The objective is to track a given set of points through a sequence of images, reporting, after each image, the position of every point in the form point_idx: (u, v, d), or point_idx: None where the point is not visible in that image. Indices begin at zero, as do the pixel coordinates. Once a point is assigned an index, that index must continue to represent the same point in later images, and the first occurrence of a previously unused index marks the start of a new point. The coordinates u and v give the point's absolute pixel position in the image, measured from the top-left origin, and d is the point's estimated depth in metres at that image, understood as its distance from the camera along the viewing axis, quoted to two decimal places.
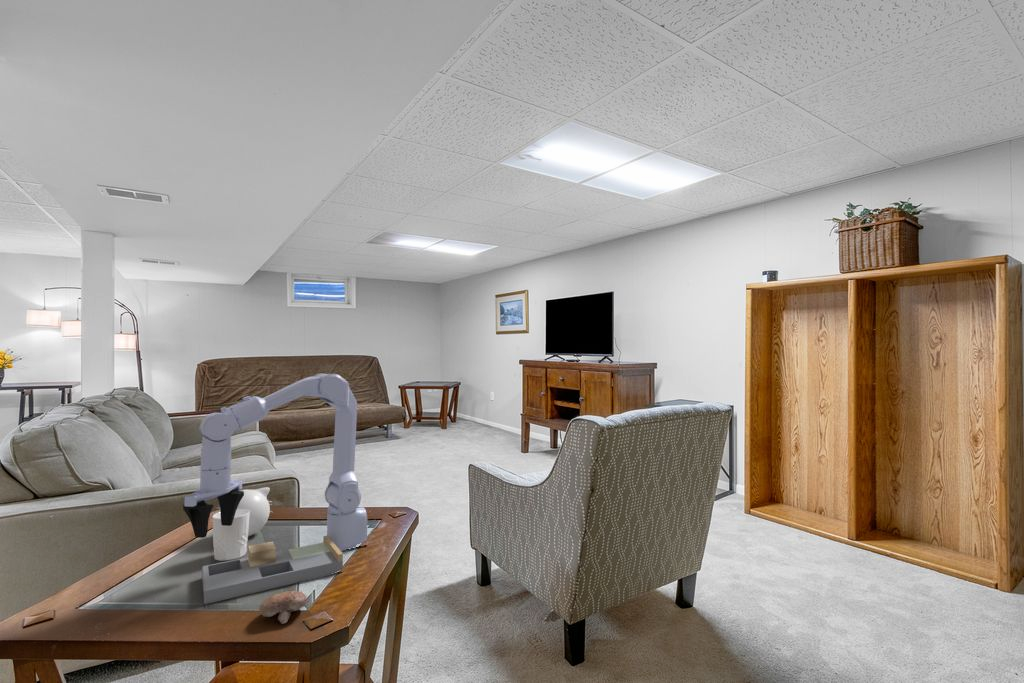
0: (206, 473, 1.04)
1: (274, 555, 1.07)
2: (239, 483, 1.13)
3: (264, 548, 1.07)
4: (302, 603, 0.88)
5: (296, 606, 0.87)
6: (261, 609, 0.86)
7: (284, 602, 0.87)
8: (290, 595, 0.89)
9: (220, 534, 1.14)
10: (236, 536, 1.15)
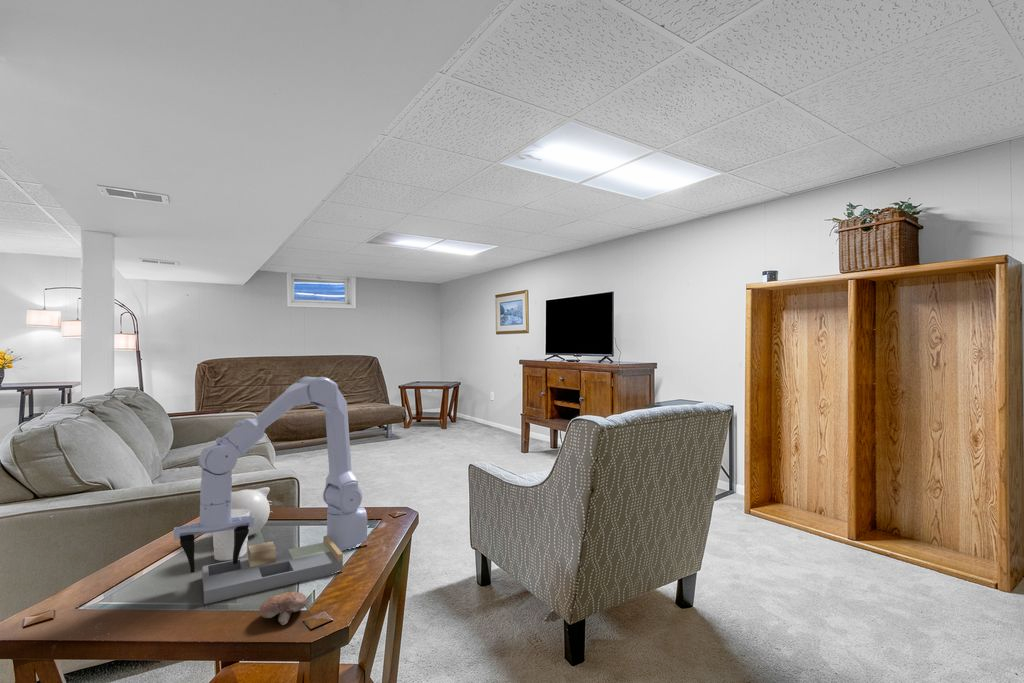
0: (200, 506, 1.02)
1: (274, 555, 1.07)
2: (248, 520, 1.06)
3: (264, 548, 1.07)
4: (302, 604, 0.88)
5: (296, 607, 0.87)
6: (261, 610, 0.86)
7: (284, 603, 0.87)
8: (290, 596, 0.88)
9: (220, 534, 1.14)
10: None
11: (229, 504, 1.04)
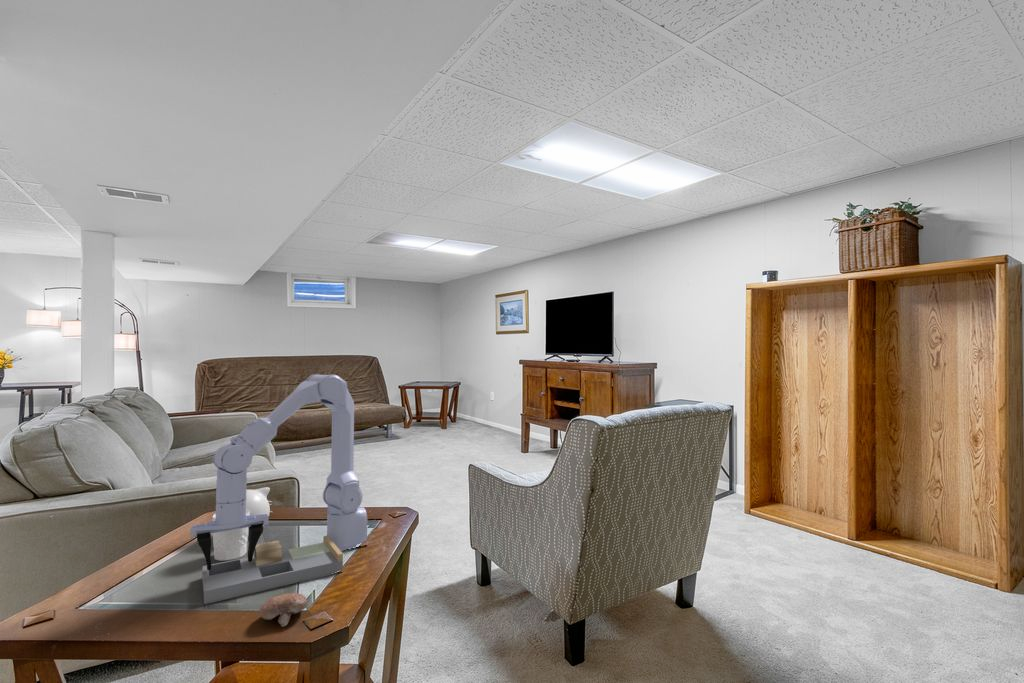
0: None
1: (280, 554, 1.08)
2: (263, 518, 1.08)
3: (270, 547, 1.08)
4: (302, 605, 0.88)
5: (296, 608, 0.87)
6: (261, 612, 0.86)
7: (284, 605, 0.86)
8: (290, 597, 0.88)
9: (220, 534, 1.14)
10: (236, 536, 1.15)
11: (244, 502, 1.05)
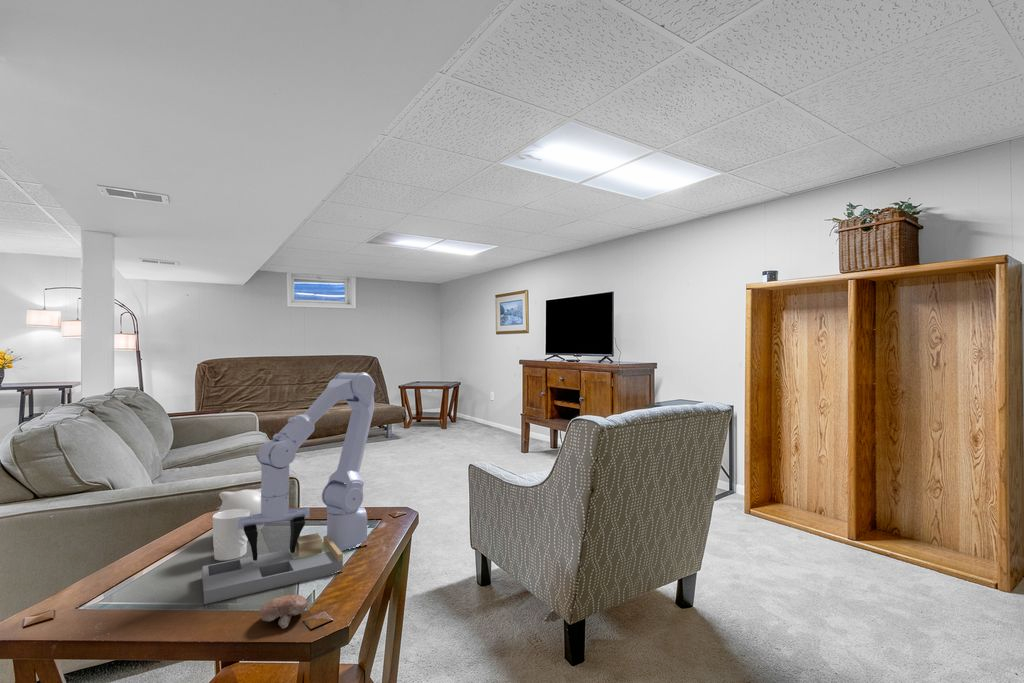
0: (261, 498, 1.08)
1: (320, 546, 1.13)
2: (304, 512, 1.12)
3: (311, 539, 1.13)
4: (303, 607, 0.87)
5: (297, 610, 0.86)
6: (261, 613, 0.85)
7: (284, 606, 0.86)
8: (290, 599, 0.87)
9: (220, 534, 1.14)
10: (236, 536, 1.15)
11: (287, 496, 1.10)
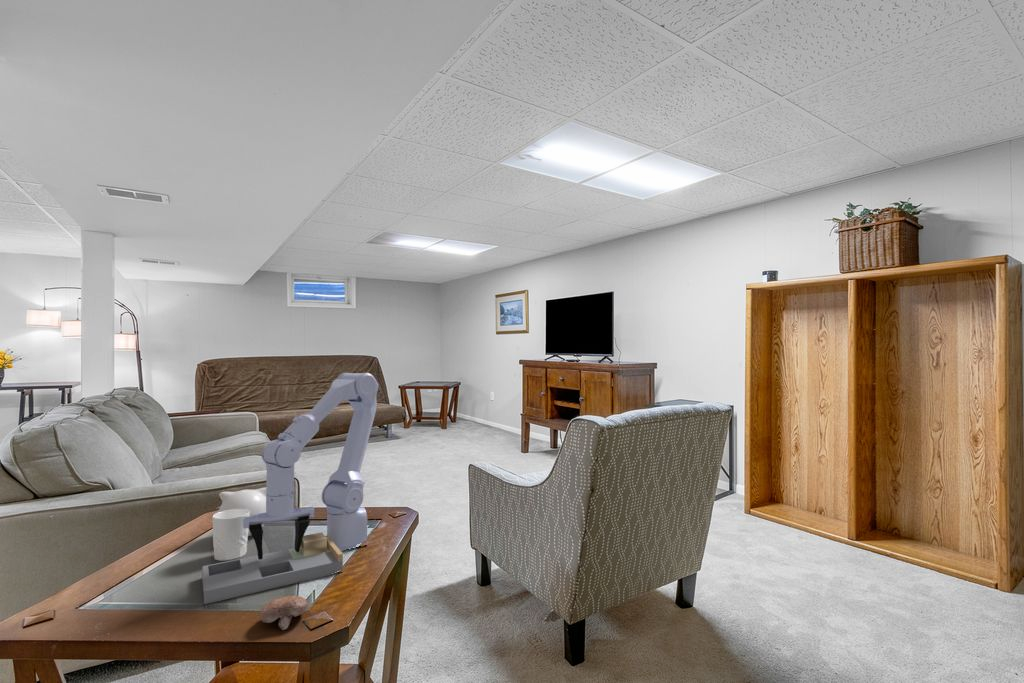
0: (266, 498, 1.09)
1: (325, 545, 1.13)
2: (309, 511, 1.13)
3: (316, 538, 1.13)
4: (303, 608, 0.86)
5: (297, 612, 0.86)
6: (261, 615, 0.84)
7: (284, 608, 0.85)
8: (291, 600, 0.87)
9: (220, 534, 1.14)
10: (236, 536, 1.15)
11: (292, 495, 1.11)
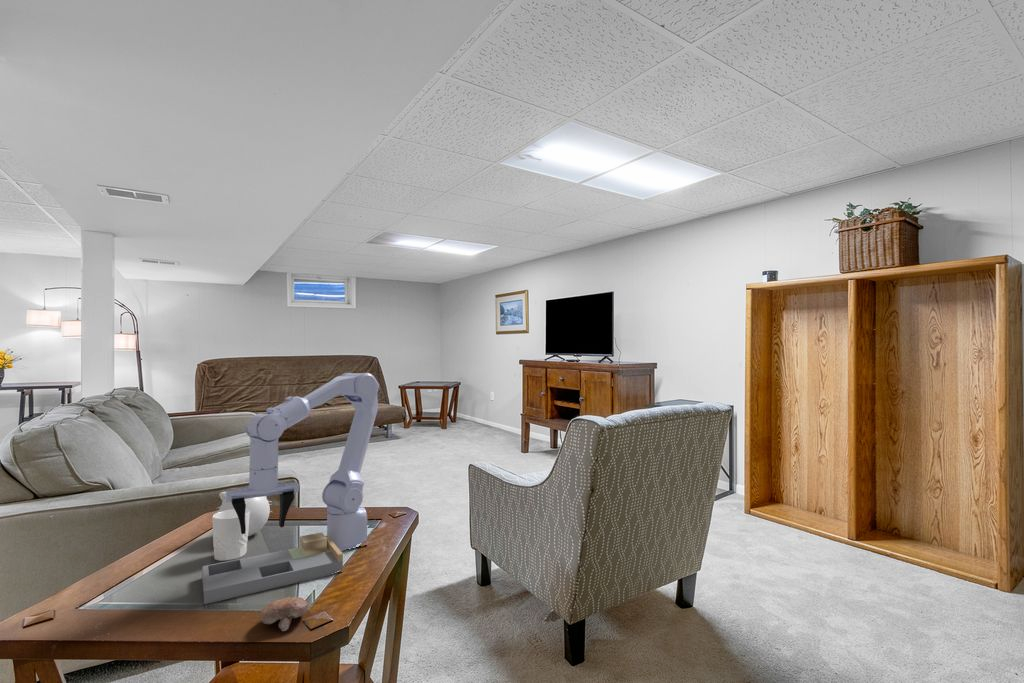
0: (249, 472, 1.07)
1: (325, 545, 1.13)
2: (294, 486, 1.11)
3: (316, 538, 1.13)
4: (303, 610, 0.86)
5: (297, 613, 0.85)
6: (261, 616, 0.84)
7: (284, 609, 0.85)
8: (291, 601, 0.86)
9: (220, 534, 1.14)
10: (236, 536, 1.15)
11: (276, 470, 1.09)
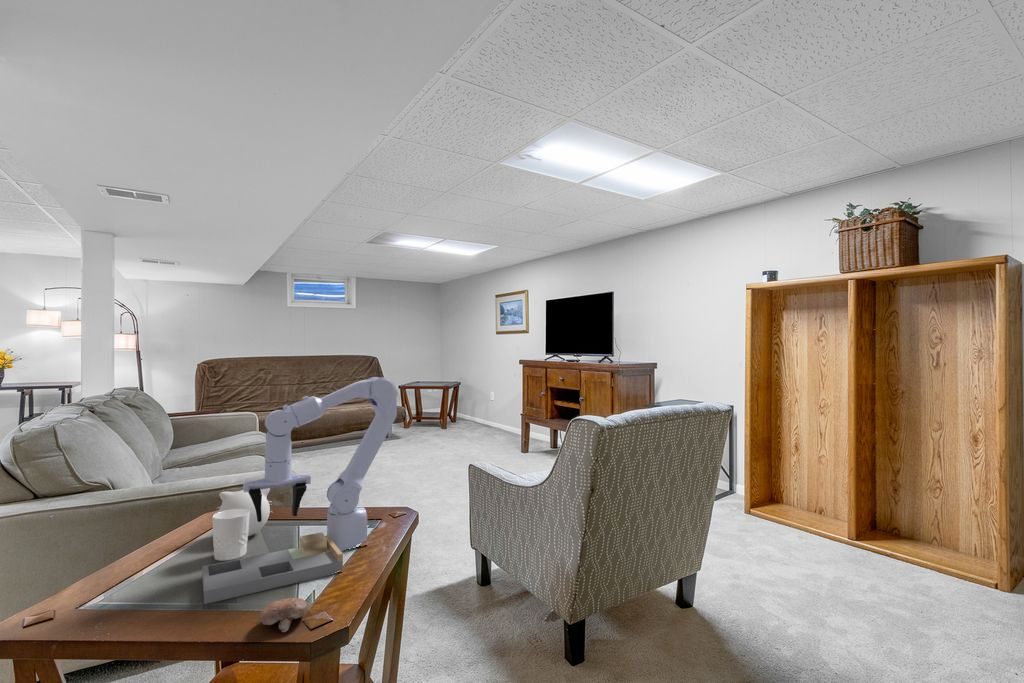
0: (265, 464, 1.15)
1: (325, 545, 1.13)
2: (306, 478, 1.19)
3: (316, 538, 1.13)
4: (303, 611, 0.86)
5: (297, 614, 0.85)
6: (261, 617, 0.84)
7: (284, 610, 0.84)
8: (291, 602, 0.86)
9: (220, 534, 1.14)
10: (236, 536, 1.15)
11: (290, 463, 1.17)
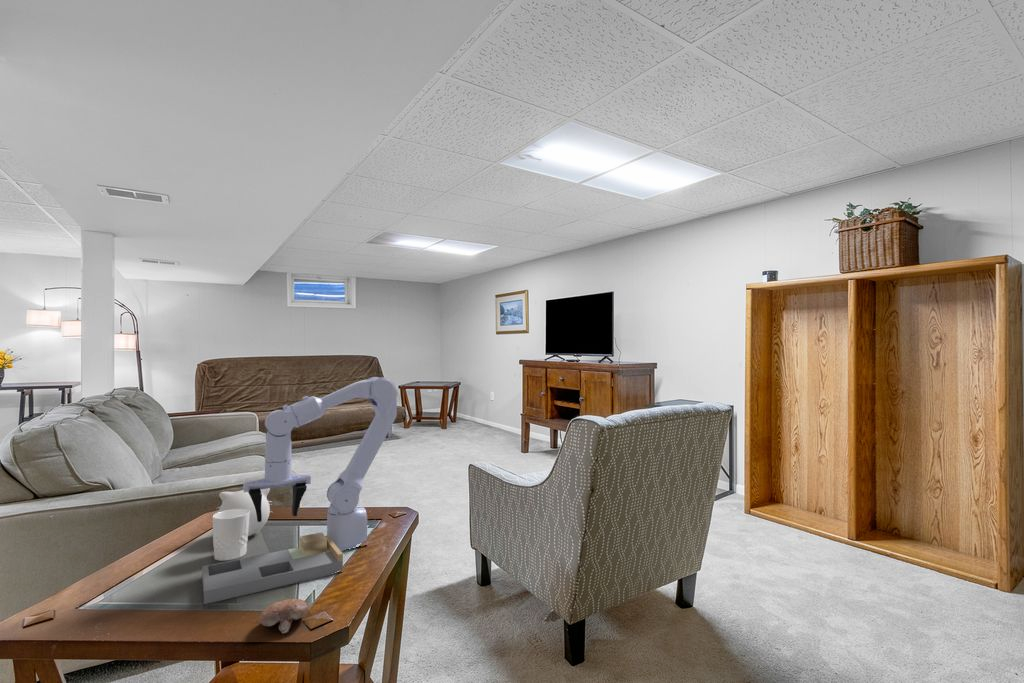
0: (265, 464, 1.15)
1: (325, 545, 1.13)
2: (306, 478, 1.19)
3: (316, 538, 1.13)
4: (303, 612, 0.85)
5: (297, 615, 0.84)
6: (261, 618, 0.83)
7: (284, 611, 0.84)
8: (291, 603, 0.86)
9: (220, 534, 1.14)
10: (236, 536, 1.15)
11: (290, 463, 1.17)
